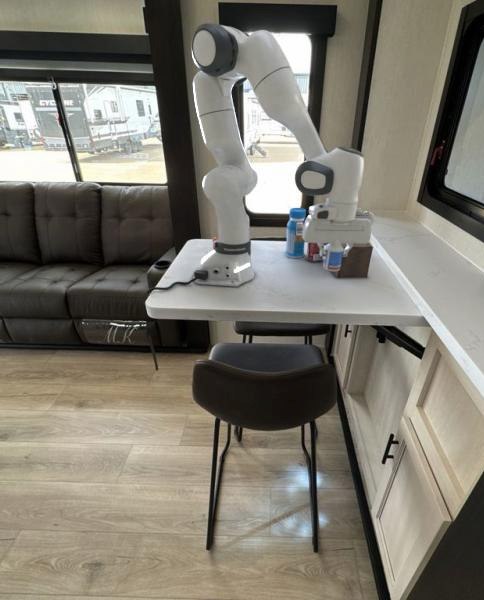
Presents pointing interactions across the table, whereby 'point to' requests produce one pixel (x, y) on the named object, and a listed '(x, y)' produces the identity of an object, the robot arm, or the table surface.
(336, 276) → the cupboard door
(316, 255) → the soda can
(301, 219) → the beverage bottle
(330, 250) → the pill bottle
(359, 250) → the cupboard
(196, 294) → the table surface
